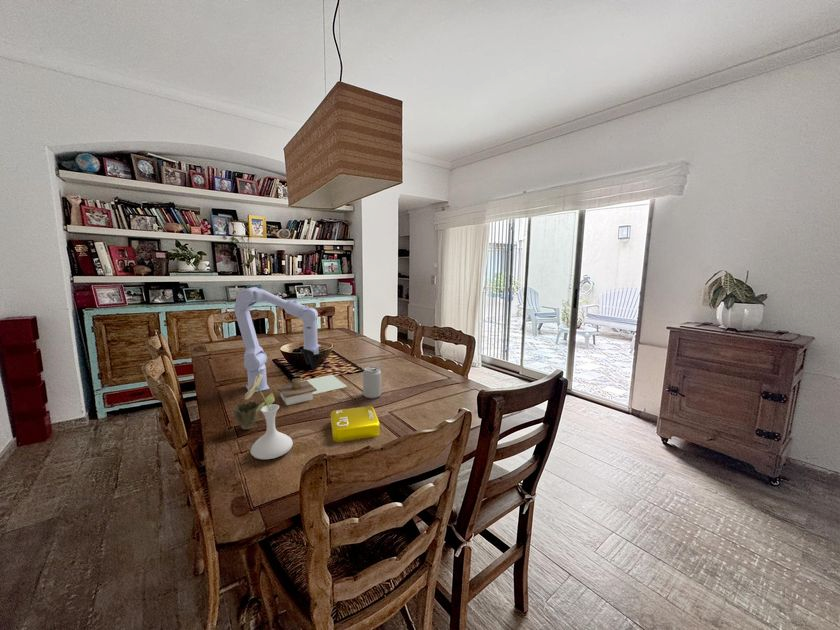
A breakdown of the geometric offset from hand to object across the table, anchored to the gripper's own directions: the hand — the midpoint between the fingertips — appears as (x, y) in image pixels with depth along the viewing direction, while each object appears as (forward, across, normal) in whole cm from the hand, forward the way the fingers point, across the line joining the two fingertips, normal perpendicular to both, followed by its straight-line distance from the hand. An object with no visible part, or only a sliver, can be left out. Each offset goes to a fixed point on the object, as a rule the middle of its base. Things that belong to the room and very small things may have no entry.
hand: (311, 366), depth 142 cm
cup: (+10, -23, +29) cm, 38 cm away
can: (+10, -22, -18) cm, 30 cm away
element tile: (+11, -43, -1) cm, 44 cm away
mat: (+10, +1, -5) cm, 11 cm away
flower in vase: (+10, -42, +26) cm, 51 cm away
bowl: (+10, -8, +9) cm, 16 cm away
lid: (+6, -8, +9) cm, 13 cm away
